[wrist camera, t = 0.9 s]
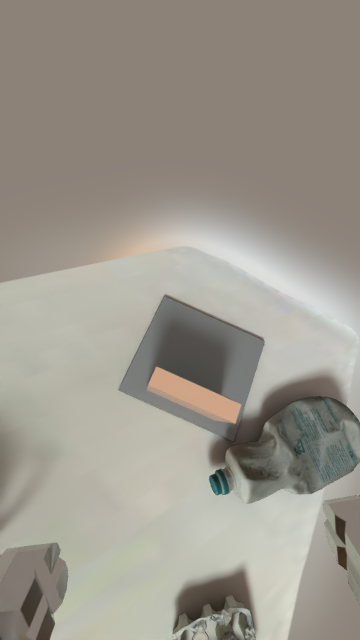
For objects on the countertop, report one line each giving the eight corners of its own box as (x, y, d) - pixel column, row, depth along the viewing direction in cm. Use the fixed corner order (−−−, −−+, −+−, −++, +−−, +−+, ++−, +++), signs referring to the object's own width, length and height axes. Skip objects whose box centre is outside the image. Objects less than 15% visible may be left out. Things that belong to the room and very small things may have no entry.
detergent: (323, 387, 48) (192, 430, 42) (355, 387, 41) (205, 438, 35) (350, 464, 45) (216, 521, 39) (390, 478, 38) (234, 549, 33)
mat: (118, 390, 43) (118, 390, 42) (164, 297, 49) (164, 296, 48) (232, 441, 43) (233, 441, 42) (263, 341, 49) (264, 341, 48)
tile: (146, 389, 43) (148, 384, 33) (153, 374, 44) (157, 365, 34) (214, 420, 43) (235, 423, 33) (220, 404, 44) (241, 403, 34)
